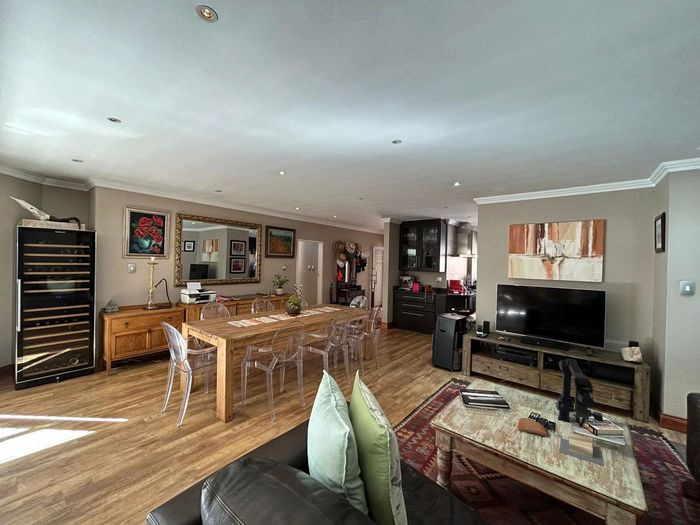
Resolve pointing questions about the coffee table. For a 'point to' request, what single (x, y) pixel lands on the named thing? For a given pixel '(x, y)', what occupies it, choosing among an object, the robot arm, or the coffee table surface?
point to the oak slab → (580, 445)
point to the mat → (596, 454)
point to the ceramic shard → (531, 427)
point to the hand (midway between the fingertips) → (580, 427)
